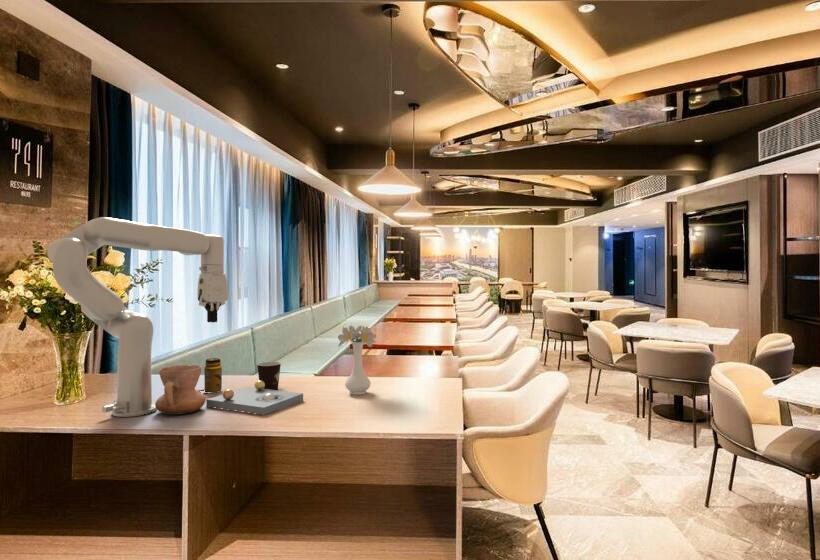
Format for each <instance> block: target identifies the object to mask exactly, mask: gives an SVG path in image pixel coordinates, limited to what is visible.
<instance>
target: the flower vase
mask: <svg viewBox="0 0 820 560" xmlns="http://www.w3.org/2000/svg"><path fill="white" fill-rule="evenodd" d="M341 329H342V334H341V333H340V334H338V336H337V339H338V341H340V342H339V343H338V347H341V346H342V347H344V346H345V345H346V344H347V343H348V342H349V341H350V343H351V344H352V348H353V365H352V371H351V373H350V375H349V377H347V379H346V380H345V384H344V387H345V389H347V391H348V393H349V394H350V395H355V396H361V395H365V394H367V391H368V390H369V388H370V387H371V381H370V378H369V377H368V376H367V375H366V373H365V371H364V368H363V347H364V345H365V344H366V345H367V347H368V348H372V347H373V344H375V343H376V342H375V340H374V339H376V338H377V334H376V333H375V334H374V333H373V332H372V331H371V329H370V327H368V326H364V325H359V326H358V327H356V328H355V327H354V326H353V325H349V326H348V327H345V326H342V328H341Z"/></svg>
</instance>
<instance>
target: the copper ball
mask: <svg viewBox="0 0 820 560" xmlns="http://www.w3.org/2000/svg"><path fill="white" fill-rule="evenodd" d="M224 390H225V391H222V395H223V398H224V399H225V400H230V399H232V398H233V396H234V390H233V389H230V388H228V389H224Z"/></svg>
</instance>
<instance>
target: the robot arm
mask: <svg viewBox="0 0 820 560" xmlns="http://www.w3.org/2000/svg"><path fill="white" fill-rule="evenodd" d="M102 246H110V247H111V246H112V247H119V248H126V249H132V250H141V251H150V252H156V251H168V252H177V253H179V254H181V255H183V256H199V255H200V266H199V268H198V269H199V271H200V273H199V277H198V282H197V301H198V306H199V307H203V308H204V309H205V311H206V313H207V314H206V315H207V316H206V318H207V319H206V322H208V323H217V322H218V311H219V310H220V308H221V306H224V305H226V302H227V301H228V299H229V291H228V289H229V288H228V280H227V276H226V274H225V273H224V269H225V267H224V266H225V263H224V260H225V258H224V256H225V255H224V254H225V252H224V251H225V250H224V249H225V248H224V246H225V240H224V237H223V236H222V235H217V234H204V233H202V232H199V231H195V230H194V231H193V230H190V229H182V228H176V227H167V226H163V225H156V224H149V223H143V222H137V221H130V220H127V219H119V218H116V217H115V218H113V217H106V216H100V217H97V218H93V219H91V220H89V221H87V222H85V223H84V224H82V225H80V226H78V227H77V228H75V229H73V230H72V231H69V232H68V233H65V234H64V235H63V236H60V237H59V238H57V239H55V240H54V241H52V242H51V243H50V244H49V246H48V247H47V249H46V250H47V251H46V252H47V253H46V254H47V258H48V260H49V261H50V263H52V273H53V277H54V279H55V282H56V283H57V284H58V286H59V288H60V289H62V291H63V292H64V293H66V294H67V295H68V296H69V297H70V298H72V299H73V300H74V301H75V302H76V303H77V304H79V305H80V310H82V313H83V315H85V316H86V317H87V318H88V319H89V320H91V321H92V322H94V323H95V324H96V325H98V326H99V327H100V328H101V329H102V330H104V331H105V332H107V333H108V334H109V335H111V336H112V337H113V338H115V339H117V340H118V345H117V352H116V353H117V354H116V355H117V356H116V366H117V371H116V376H117V377H116V378H117V381H116V382H117V383H116V384H117V385H116V386H117V399H114V400H113V401H114V402H113V403H112V404H109V405H104V406H102V408H101V410H102V413H108V412H111V414H112V416H114V417H118V418H129V417H132V418H133V417H139V416H144V414H145V415H149V414H152V413H154V412H156V411H158V410H157V409H156V406H155V403H152V402H153V401H152V399H153V398H152V397H153V396H152V393H153V392H152V389H153V388H152V387H153V384H152V382H153V381H152V379H153V378H152V346H153V337H154V325H153V322H152V321H151V319H150V318H149V317H148V316H147V315H146V314H143V313H141V312H135V311H131V309H129V308H128V307H126V306H125V304H124V301H123V299H122V298H121V297H120V295H119V294H117V293H116V292H114V291H113V290H112V289H110V288H109V287H108V286H106V285H105V284H104V283H103V282H102V281H101V280H99V279H98V278H97V277H96V276H95V275H94V274H93V273H91V271H90V269H89V268H88V263H87V261H88V256H89V255H90V254H92V253H93V252H95V251H96V250H98V249H100V248H101V247H102ZM155 410H156V411H155ZM151 412H152V413H151ZM148 413H149V414H148Z"/></svg>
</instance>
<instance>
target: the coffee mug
mask: <svg viewBox="0 0 820 560" xmlns="http://www.w3.org/2000/svg"><path fill="white" fill-rule="evenodd" d="M281 365H282V363H281V362H280V361H263V362H258V363H257V364H256V366H257V374H258V381H259V380H261V381H263V382H264V383H265V387H264V389H270V390H278V391H279V384H280V383H279V382H280V374H281Z"/></svg>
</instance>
